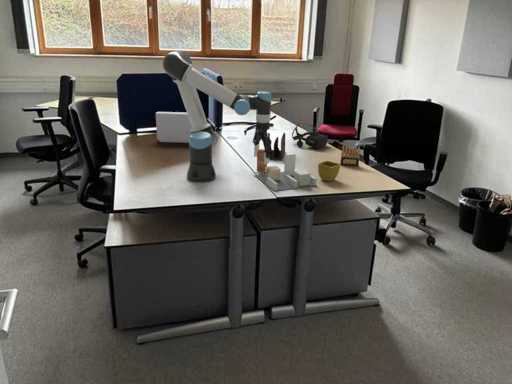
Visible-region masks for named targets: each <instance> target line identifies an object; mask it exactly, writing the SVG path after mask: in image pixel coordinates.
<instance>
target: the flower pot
mask: <svg viewBox="0 0 512 384" xmlns="http://www.w3.org/2000/svg"><path fill="white" fill-rule="evenodd" d="M341 166H342V165H341V164H340V163H338V162H335V161H330V160H325V161H322V162H319V163H318V164H317V169H318V175H319V178H320V179H321V180H322V181H325V182H332V181H334V180H336V178H337V177H338V174H339V173H340V172H339V171H340V168H341Z"/></svg>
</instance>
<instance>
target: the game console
mask: <svg viewBox="0 0 512 384" xmlns="http://www.w3.org/2000/svg"><path fill="white" fill-rule="evenodd" d="M155 122H156V124H155V125H156V126H155V127H156V138H157V140H158V141H159V142H160V143H185V144H186V143H187V144H189V136H190V135H191V129H192V125H191V123H190V120H189V117H188V114H187V112H183V111H182V112H181V111H180V112H179V111H175V112H173V111H157V112H155Z"/></svg>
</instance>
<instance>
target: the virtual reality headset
mask: <svg viewBox="0 0 512 384" xmlns="http://www.w3.org/2000/svg"><path fill="white" fill-rule="evenodd" d="M301 124H302V122H300V123H298V124H297V125H296V126H295V127H294V129H293V131H292V132H291V137H292V139H293V141H294V142H295V141H297V142H296V146H297V147H298V148H301V147H304V143H305V145H306V146H309V147H310V148H313V149H315V150H321V149H323V148H325V147H326V146H327V144H328V141H329V140H328V139H329V137H328V135H327V134H321V133H320V134H319V131H318V130H317V129H316V127H315V126H314V125H312V124H310V123H308V122H303V125H308V126H310V127H311V128H312V129H314V131H313V130H312V132H310V131H307V132H304V133H299V131H298V127H299V125H301ZM294 133H295V134H296V135H294ZM303 141H304V142H303Z"/></svg>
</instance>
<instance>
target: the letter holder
mask: <svg viewBox="0 0 512 384" xmlns="http://www.w3.org/2000/svg"><path fill="white" fill-rule="evenodd" d="M270 142H271V143H272V139H270ZM285 154H286V132H283V134H282V135H281V139H280V148H279V136H276V138H275V140H274V142H273V149H272V152H269V161H280V162H281V161H283V158H284V157H285Z"/></svg>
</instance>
